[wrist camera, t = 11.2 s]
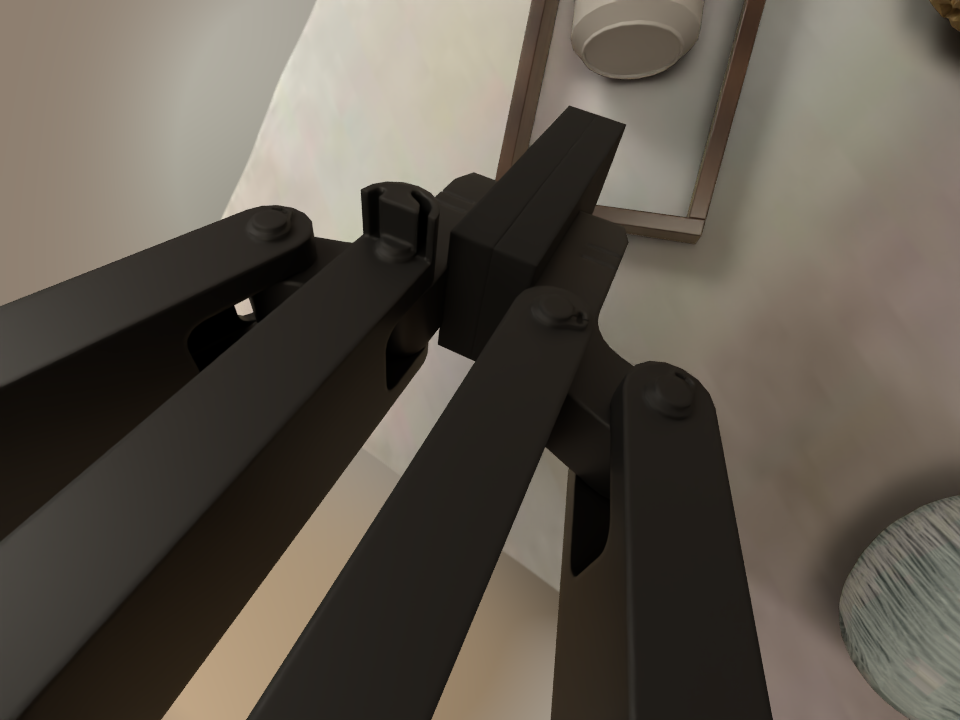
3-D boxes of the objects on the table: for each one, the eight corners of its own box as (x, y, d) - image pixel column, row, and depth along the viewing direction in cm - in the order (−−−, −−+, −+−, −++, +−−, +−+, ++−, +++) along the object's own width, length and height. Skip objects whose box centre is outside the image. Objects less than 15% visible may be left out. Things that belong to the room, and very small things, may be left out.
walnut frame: (574, -138, 31) (568, -184, 29) (805, -159, 27) (824, -215, 24) (501, 214, 35) (489, 204, 32) (695, 244, 31) (701, 236, 28)
